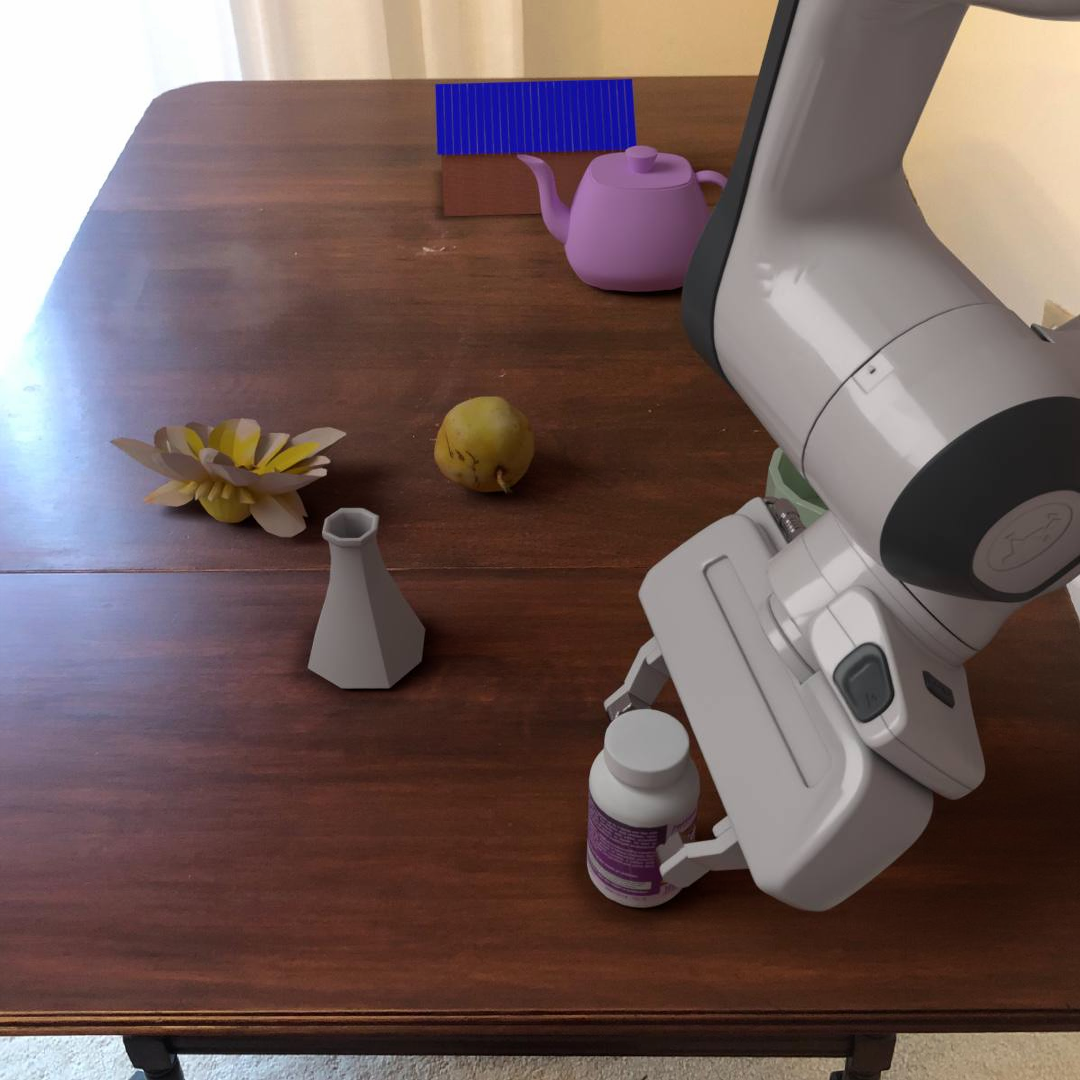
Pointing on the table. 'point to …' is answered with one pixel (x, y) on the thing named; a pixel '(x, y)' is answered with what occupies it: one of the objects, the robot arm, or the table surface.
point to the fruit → (484, 444)
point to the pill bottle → (639, 805)
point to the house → (525, 139)
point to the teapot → (629, 218)
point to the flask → (363, 611)
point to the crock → (793, 488)
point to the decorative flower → (236, 470)
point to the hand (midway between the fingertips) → (638, 791)
